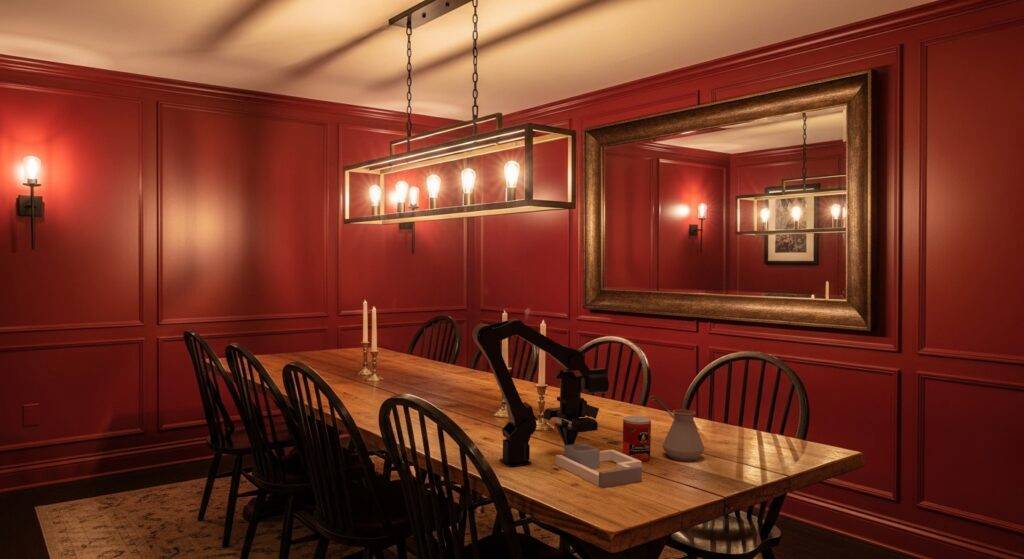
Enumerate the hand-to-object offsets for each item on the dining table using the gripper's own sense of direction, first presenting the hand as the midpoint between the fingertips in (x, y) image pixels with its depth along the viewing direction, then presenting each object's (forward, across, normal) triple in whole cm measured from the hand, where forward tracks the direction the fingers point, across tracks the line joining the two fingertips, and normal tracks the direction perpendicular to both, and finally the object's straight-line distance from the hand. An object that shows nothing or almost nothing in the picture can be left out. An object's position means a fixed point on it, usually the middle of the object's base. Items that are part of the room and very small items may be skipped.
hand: (569, 450), depth 196 cm
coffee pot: (+3, -7, -31) cm, 32 cm away
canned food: (+3, -7, -18) cm, 19 cm away
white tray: (+2, -13, -3) cm, 14 cm away
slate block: (+3, -6, 0) cm, 7 cm away
